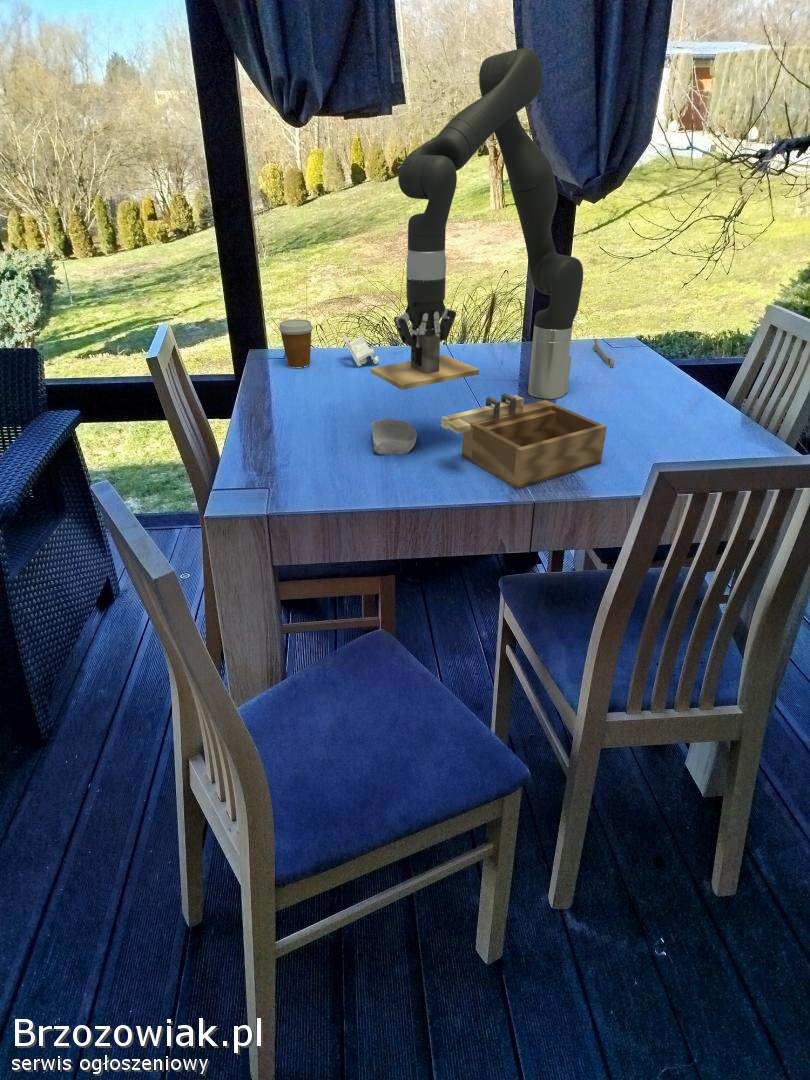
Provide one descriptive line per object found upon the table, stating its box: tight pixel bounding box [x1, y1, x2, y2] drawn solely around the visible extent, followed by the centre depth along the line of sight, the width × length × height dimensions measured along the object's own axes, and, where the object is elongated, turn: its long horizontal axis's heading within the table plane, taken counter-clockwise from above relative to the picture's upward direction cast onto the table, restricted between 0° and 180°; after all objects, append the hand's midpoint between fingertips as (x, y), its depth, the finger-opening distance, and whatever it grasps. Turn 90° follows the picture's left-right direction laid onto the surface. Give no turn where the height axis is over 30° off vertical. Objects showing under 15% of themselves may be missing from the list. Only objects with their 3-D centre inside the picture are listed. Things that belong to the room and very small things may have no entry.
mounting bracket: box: [341, 332, 380, 367], centre depth 197 cm, size 12×6×11 cm, turn 12°
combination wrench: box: [592, 338, 615, 368], centre depth 201 cm, size 4×1×20 cm
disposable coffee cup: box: [278, 318, 314, 368], centre depth 193 cm, size 10×10×12 cm
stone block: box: [371, 418, 418, 456], centre depth 147 cm, size 12×5×10 cm
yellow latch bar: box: [441, 394, 525, 435], centre depth 137 cm, size 19×6×3 cm, turn 122°
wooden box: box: [461, 393, 608, 490], centre depth 138 cm, size 22×18×12 cm
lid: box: [370, 330, 480, 391], centre depth 138 cm, size 19×12×8 cm, turn 122°
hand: (424, 363), depth 139 cm, fingers closed on lid, 3 cm apart
